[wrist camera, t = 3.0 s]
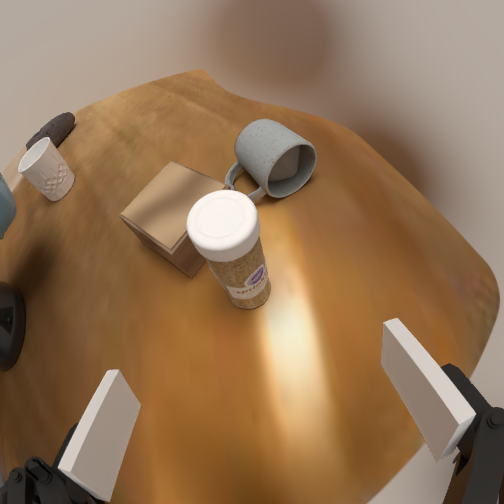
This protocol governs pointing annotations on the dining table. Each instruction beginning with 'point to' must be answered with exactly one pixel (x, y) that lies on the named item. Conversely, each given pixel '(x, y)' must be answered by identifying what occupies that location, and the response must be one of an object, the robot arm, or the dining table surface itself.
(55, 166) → the white cup
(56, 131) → the perforated stone tool
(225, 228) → the sprinkles bottle
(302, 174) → the ceramic mug
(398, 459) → the dining table surface
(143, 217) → the tan block
